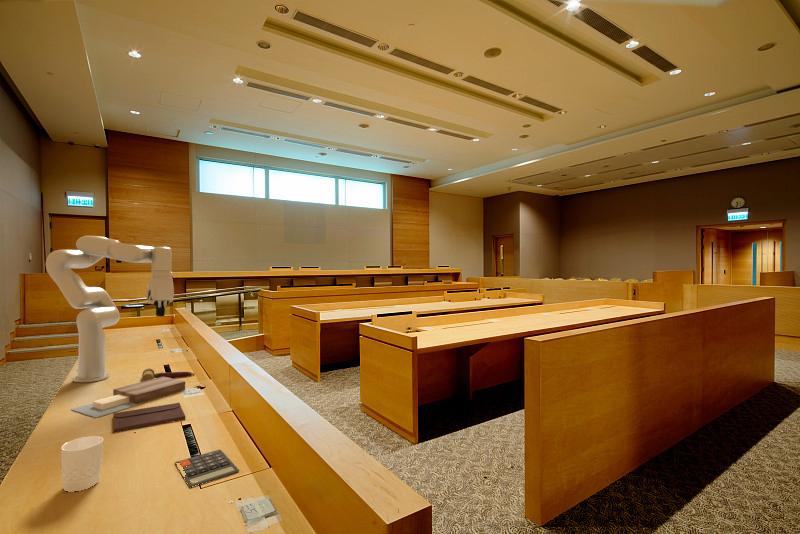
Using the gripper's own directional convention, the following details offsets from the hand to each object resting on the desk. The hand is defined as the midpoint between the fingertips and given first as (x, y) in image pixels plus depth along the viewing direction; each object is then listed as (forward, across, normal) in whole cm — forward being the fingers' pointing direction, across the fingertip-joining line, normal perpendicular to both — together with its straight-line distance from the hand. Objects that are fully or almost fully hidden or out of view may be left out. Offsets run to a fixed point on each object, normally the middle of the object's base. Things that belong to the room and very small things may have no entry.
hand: (160, 315), depth 174 cm
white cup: (+29, +60, +62) cm, 91 cm away
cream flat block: (+29, +26, +13) cm, 41 cm away
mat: (+29, +29, +14) cm, 43 cm away
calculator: (+30, +41, +81) cm, 95 cm away
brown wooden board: (+29, +12, +13) cm, 34 cm away
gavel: (+30, -6, -1) cm, 30 cm away
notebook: (+30, +27, +37) cm, 55 cm away
